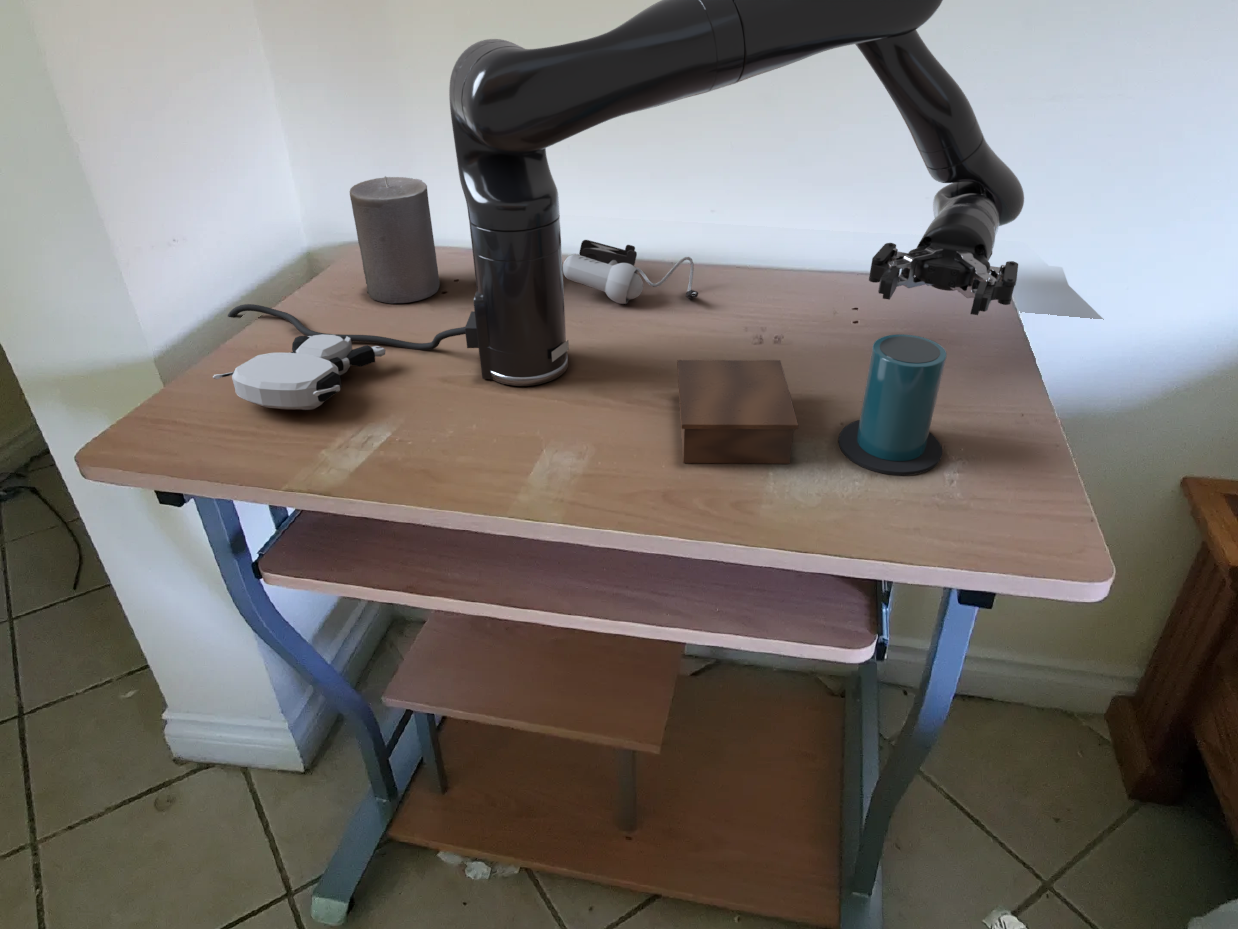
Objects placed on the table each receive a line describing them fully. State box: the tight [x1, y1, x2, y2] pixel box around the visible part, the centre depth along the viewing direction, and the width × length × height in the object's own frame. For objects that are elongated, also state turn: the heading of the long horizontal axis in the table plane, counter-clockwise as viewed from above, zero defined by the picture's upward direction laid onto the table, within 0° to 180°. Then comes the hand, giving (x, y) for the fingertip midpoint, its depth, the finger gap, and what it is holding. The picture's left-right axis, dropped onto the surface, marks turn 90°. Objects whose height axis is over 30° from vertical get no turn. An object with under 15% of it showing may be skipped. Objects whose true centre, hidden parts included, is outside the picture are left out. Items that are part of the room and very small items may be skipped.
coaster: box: [838, 419, 943, 476], centre depth 83 cm, size 10×10×1 cm
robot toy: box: [212, 333, 386, 411], centre depth 92 cm, size 12×4×15 cm
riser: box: [676, 359, 799, 465], centre depth 84 cm, size 11×13×4 cm
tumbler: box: [857, 333, 948, 461], centre depth 80 cm, size 6×6×10 cm
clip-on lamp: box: [562, 239, 699, 305], centre depth 112 cm, size 12×6×18 cm
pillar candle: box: [349, 175, 441, 304], centre depth 111 cm, size 10×10×15 cm
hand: (931, 297), depth 85 cm, fingers open, 8 cm apart
